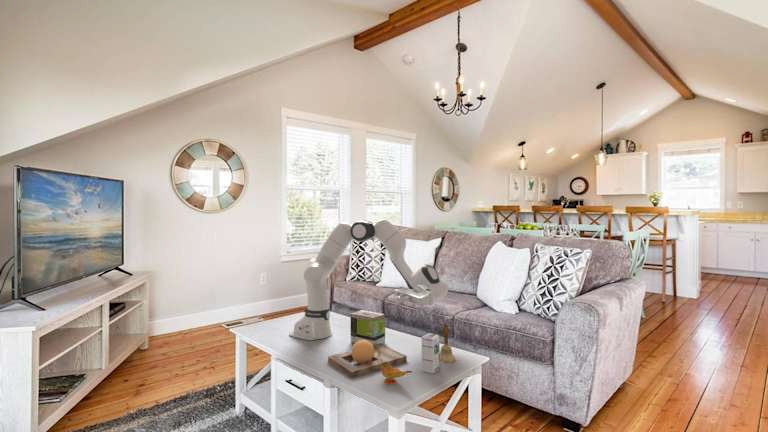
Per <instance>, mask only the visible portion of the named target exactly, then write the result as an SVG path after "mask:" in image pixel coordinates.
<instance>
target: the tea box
mask: <svg viewBox="0 0 768 432" xmlns="http://www.w3.org/2000/svg"><path fill="white" fill-rule="evenodd" d="M360 340H367V341H369V342H370V343H371V344H372V345H375V344H379V343H380V344H382V345H384V344H385V343H386V314H385V313H382V312H381V313H380V312H377V311H373V310H372V311H370V310H365V309H361V310H358V311H354V312H352V313H350V342H351V343H354V344H355V343H356V342H357V341H360Z"/></svg>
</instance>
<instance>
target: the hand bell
mask: <svg viewBox="0 0 768 432" xmlns="http://www.w3.org/2000/svg"><path fill="white" fill-rule="evenodd" d="M442 333H443V337H444V340H443V341H444V342H443V343H444V344H443V345H441V347H440V363H441V362H442V363H453V362H455V361H457V359H456V357H455V355H454V354H453V351H452V350H453V349H452V347H451V345H449V334H450V330H449V326H448V323H446V322H444V325H443V327H442Z"/></svg>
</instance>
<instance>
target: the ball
mask: <svg viewBox="0 0 768 432" xmlns="http://www.w3.org/2000/svg"><path fill="white" fill-rule="evenodd" d="M352 345H353V346H352V347H351V351H352V357H353V360H354V362H356V363H357V364H359V365H362V364H365V363H369V362H372V361H371V360H372V359H373V357H374V352H375V351H374V347H373V345H372V344H371V343H370V342H369V341H367V340H360V341H357V342H356V343H354V344H352Z"/></svg>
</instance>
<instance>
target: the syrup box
mask: <svg viewBox="0 0 768 432" xmlns="http://www.w3.org/2000/svg"><path fill="white" fill-rule="evenodd" d="M440 352H441V348H440V335H439V334H437V333H436V334H435V333H431V332H430V333H429V332H428V333H426V334H424V335H423V336H421V371H422V372H425V373H430V374H435V373H436V372H438V370H440V369H441V368H440V367H441V365H440V363H441V361H440Z"/></svg>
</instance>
